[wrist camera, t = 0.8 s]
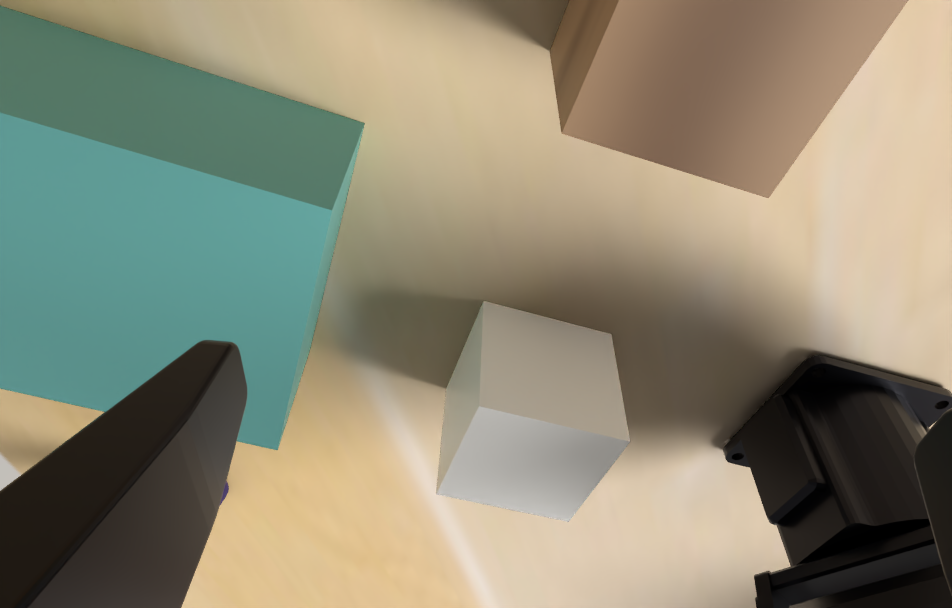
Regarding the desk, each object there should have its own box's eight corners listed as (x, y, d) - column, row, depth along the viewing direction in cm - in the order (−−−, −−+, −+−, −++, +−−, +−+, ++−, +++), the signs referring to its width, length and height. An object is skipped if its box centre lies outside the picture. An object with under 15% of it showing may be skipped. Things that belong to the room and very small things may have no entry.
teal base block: (366, 119, 19) (332, 210, 16) (311, 345, 26) (277, 450, 22) (1, 0, 17) (-138, 72, 14) (38, 276, 24) (-51, 377, 20)
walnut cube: (826, -88, 15) (932, -34, 12) (714, 105, 18) (768, 198, 15) (632, -167, 14) (677, -137, 11) (549, 50, 18) (561, 133, 14)
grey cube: (611, 332, 24) (630, 441, 21) (560, 414, 27) (569, 521, 24) (483, 299, 23) (479, 406, 20) (446, 387, 27) (436, 494, 23)
